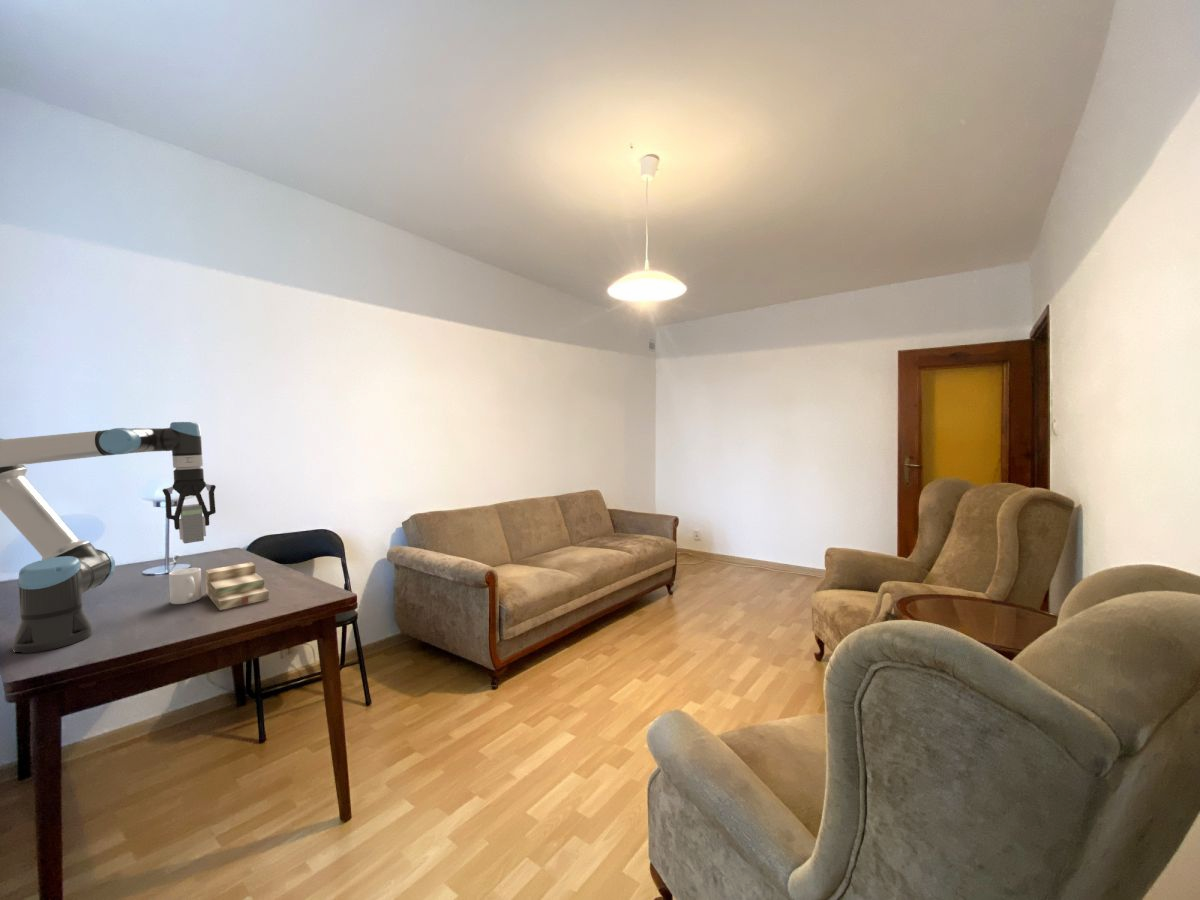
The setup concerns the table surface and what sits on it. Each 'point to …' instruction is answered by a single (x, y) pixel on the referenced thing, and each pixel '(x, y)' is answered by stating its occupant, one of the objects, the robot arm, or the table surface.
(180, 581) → the mug
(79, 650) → the table surface
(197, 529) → the column
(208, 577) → the stepped stand
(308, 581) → the table surface
